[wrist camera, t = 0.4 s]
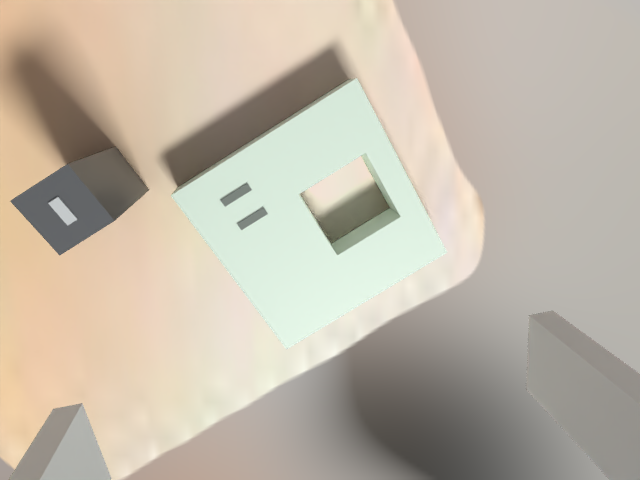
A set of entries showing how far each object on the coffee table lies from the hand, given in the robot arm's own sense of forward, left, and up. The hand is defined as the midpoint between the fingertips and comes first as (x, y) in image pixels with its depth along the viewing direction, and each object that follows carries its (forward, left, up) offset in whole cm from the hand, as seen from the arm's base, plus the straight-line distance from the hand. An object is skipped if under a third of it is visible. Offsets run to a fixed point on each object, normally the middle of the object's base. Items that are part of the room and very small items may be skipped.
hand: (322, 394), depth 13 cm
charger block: (-8, -10, -25) cm, 28 cm away
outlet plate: (+3, +2, -25) cm, 25 cm away
